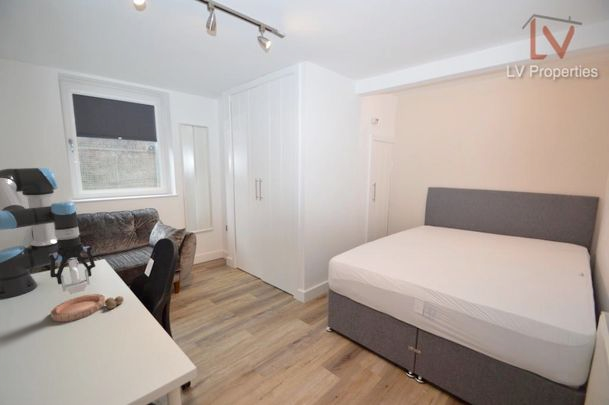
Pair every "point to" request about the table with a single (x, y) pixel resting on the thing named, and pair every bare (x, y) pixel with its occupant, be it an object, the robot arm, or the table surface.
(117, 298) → the wooden beads
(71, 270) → the figurine
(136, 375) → the table surface
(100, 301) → the dish
